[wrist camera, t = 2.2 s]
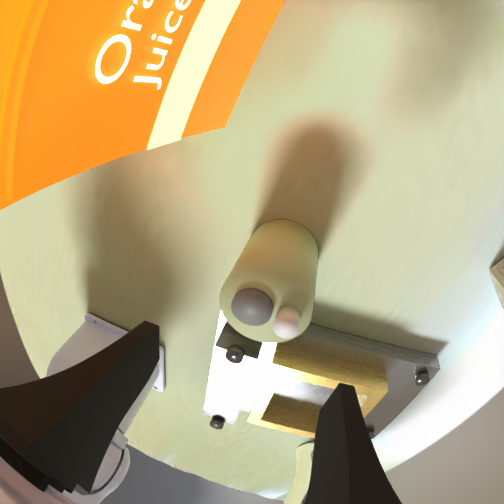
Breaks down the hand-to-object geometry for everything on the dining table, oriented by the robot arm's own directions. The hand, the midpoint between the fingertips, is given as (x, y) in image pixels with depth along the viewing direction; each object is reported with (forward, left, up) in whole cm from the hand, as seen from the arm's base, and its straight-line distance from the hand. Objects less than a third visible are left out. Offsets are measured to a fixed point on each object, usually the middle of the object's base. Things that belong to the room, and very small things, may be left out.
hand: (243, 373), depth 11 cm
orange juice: (-8, +12, -10) cm, 18 cm away
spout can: (0, 0, -10) cm, 10 cm away
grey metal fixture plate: (+6, -11, -10) cm, 16 cm away
